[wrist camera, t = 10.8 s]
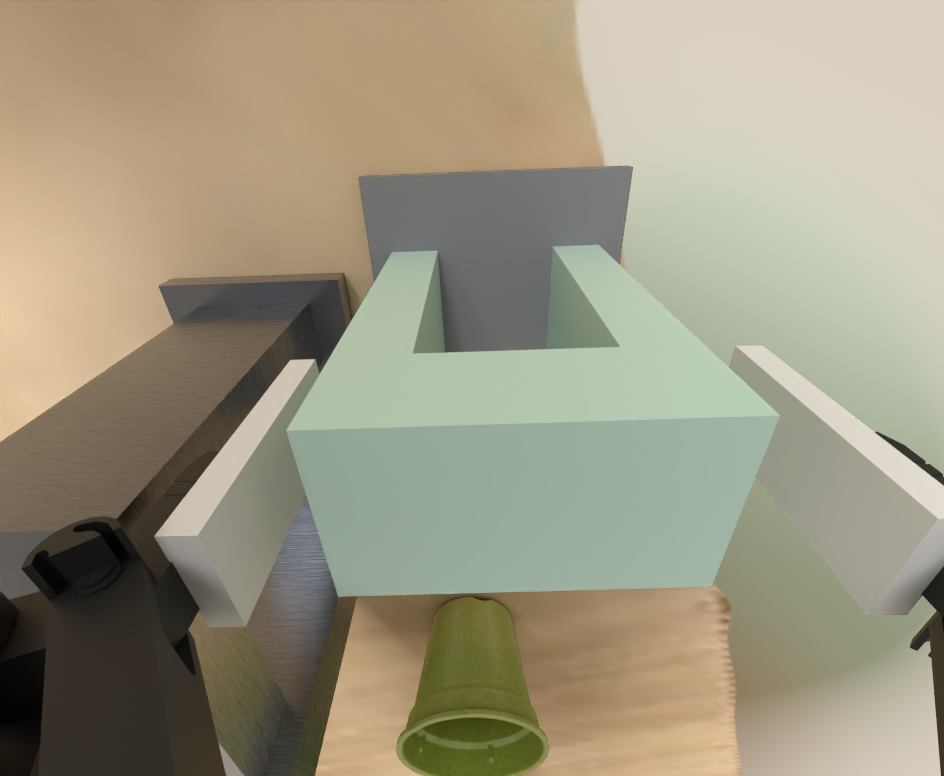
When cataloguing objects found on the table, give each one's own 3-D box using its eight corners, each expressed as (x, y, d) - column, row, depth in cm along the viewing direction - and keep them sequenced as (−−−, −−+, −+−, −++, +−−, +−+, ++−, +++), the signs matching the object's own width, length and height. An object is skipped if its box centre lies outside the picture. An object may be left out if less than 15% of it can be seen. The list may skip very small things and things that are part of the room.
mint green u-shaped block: (391, 252, 19) (286, 430, 8) (598, 244, 19) (780, 415, 8) (404, 354, 22) (337, 596, 11) (586, 348, 22) (711, 586, 11)
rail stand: (171, 279, 20) (-255, 502, 8) (343, 272, 20) (161, 490, 8) (278, 550, 30) (153, 832, 18) (394, 547, 30) (345, 828, 18)
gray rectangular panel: (361, 176, 18) (358, 177, 18) (628, 165, 18) (633, 166, 18) (394, 399, 24) (393, 405, 23) (597, 393, 24) (600, 399, 23)
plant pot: (387, 608, 34) (363, 746, 26) (489, 563, 31) (496, 702, 24) (457, 661, 38) (454, 793, 30) (553, 626, 35) (576, 761, 28)
